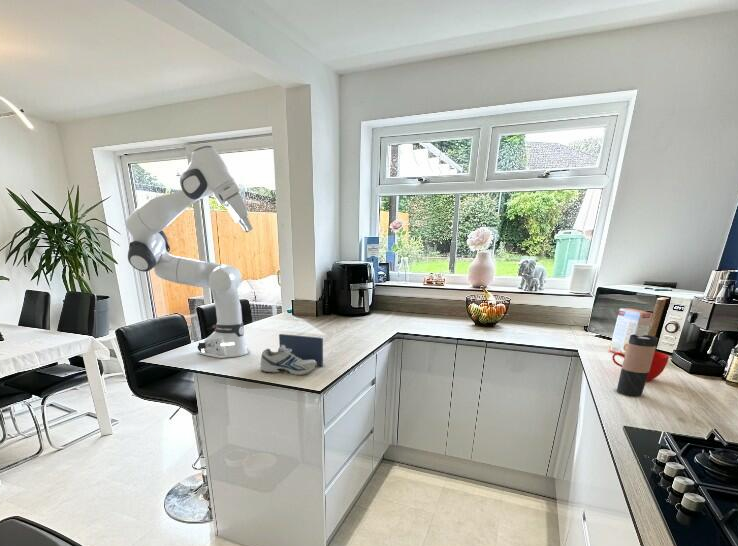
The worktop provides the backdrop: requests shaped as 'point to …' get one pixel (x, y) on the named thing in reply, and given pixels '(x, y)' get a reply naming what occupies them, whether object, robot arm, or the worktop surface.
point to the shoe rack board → (304, 347)
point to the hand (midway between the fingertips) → (249, 231)
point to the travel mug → (636, 365)
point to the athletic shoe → (285, 362)
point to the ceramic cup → (652, 364)
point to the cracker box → (629, 328)
